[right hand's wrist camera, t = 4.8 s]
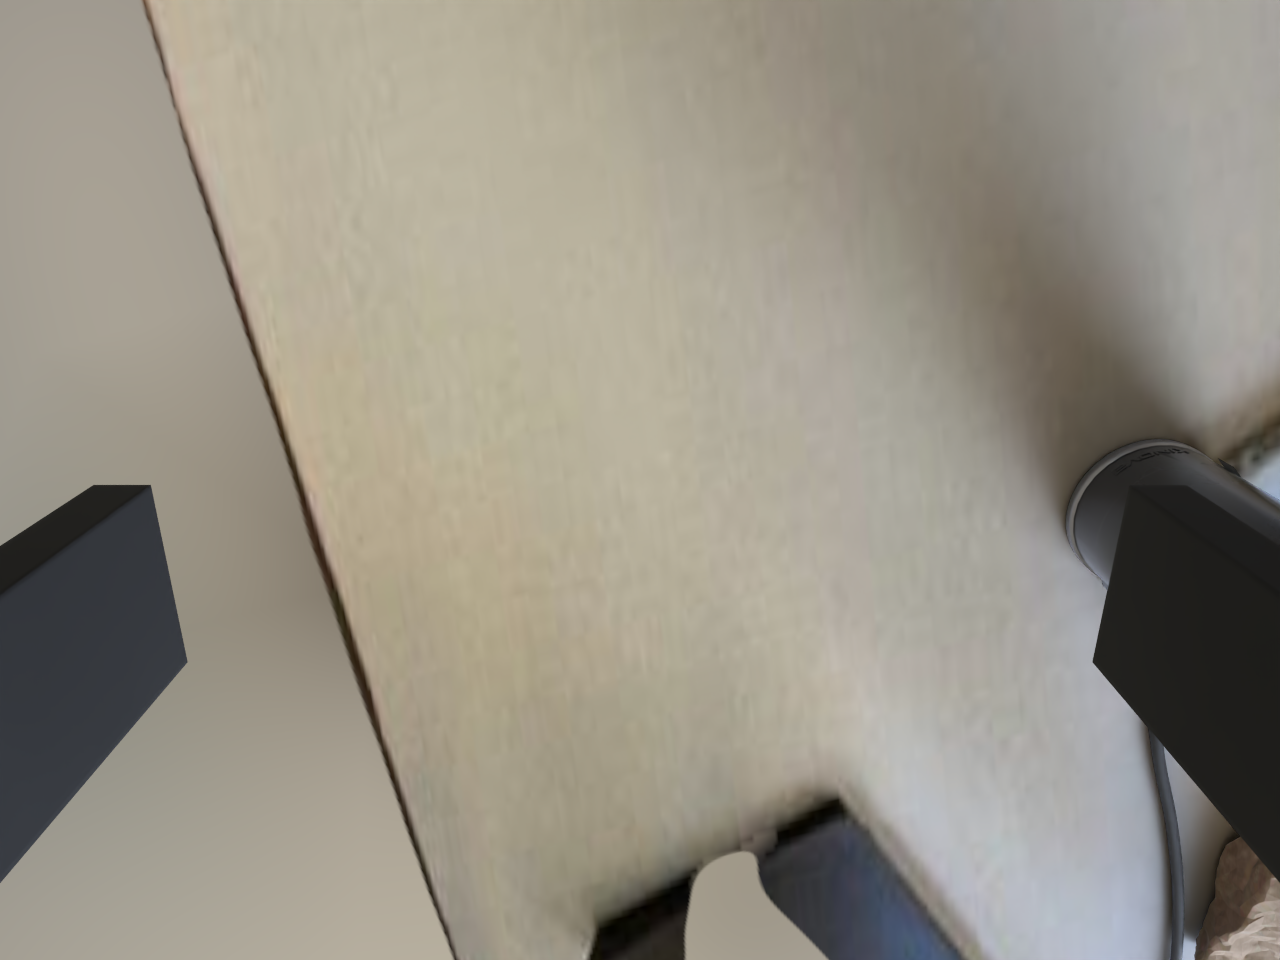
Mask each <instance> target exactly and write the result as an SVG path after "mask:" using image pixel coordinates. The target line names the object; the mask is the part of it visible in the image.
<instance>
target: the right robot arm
mask: <svg viewBox="0 0 1280 960" xmlns="http://www.w3.org/2000/svg"><path fill="white" fill-rule="evenodd" d="M186 663H187V657H186V653H185V648H184V643H183V638H182V633H181V629H180V624H179V619H178V614H177V609H176V605H175V600H174V595H173V590H172V585H171V580H170V576H169V571H168V566H167V561H166V556H165V552H164V547H163V542H162V537H161V533H160V527H159V523H158V518H157V513H156V508H155V504H154V499H153V494H152V489H151V485H93V486H91V487H90V488H88V489H87V490H85V491H84V492H82V493H81V494H79V495H78V496H76V497H75V498H73V499H72V500H70V501H68V502H67V503H65V504H64V505H62V506H61V507H59V508H58V509H56V510H55V511H53V512H52V513H50V514H49V515H47V516H46V517H44V518H42V519H41V520H39V521H38V522H36V523H35V524H33V525H32V526H30V527H29V528H27V529H26V530H24V531H23V532H21V533H19V534H18V535H16V536H15V537H13V538H12V539H10V540H9V541H7V542H6V543H4V544H3V545H1V546H0V883H1V881H2V880H3V879H4V878H5V877H6V875H7V874H8V873H9V872H10V871H11V869H12V868H13V867H14V866H15V865H16V864H17V863H18V861H19V860H20V859H21V858H22V857H23V855H24V854H25V853H26V852H27V851H28V850H29V848H30V847H31V846H32V845H33V844H34V842H35V841H36V840H37V839H38V838H39V837H40V835H41V834H42V833H43V832H44V831H45V829H46V828H47V827H48V826H49V825H50V824H51V822H52V821H53V820H54V819H55V818H56V816H57V815H58V814H59V813H60V812H61V811H62V809H63V808H64V807H65V806H66V805H67V804H68V802H69V801H70V800H71V799H72V798H73V796H74V795H75V794H76V793H77V792H78V791H79V789H80V788H81V787H82V786H83V785H84V784H85V782H86V781H87V780H88V779H89V778H90V776H91V775H92V774H93V773H94V772H95V770H96V769H97V768H98V767H99V766H100V765H101V763H102V762H103V761H104V760H105V759H106V757H107V756H108V755H109V754H110V753H111V752H112V750H113V749H114V748H115V747H116V746H117V745H118V743H119V742H120V741H121V740H122V739H123V738H124V736H125V735H126V734H127V733H128V732H129V730H130V729H131V728H132V727H133V726H134V725H135V723H136V722H137V721H138V720H139V719H140V717H141V716H142V715H143V714H144V713H145V712H146V710H147V709H148V708H149V707H150V706H151V704H152V703H153V702H154V701H155V700H156V699H157V697H158V696H159V695H160V694H161V693H162V691H163V690H164V689H165V688H166V687H167V686H168V684H169V683H170V682H171V681H172V680H173V678H174V677H175V676H176V675H177V674H178V673H179V671H180V670H181V669H182V668H183V667H184V666H185V664H186ZM1093 663H1094V664H1095V666H1096V667H1097V668H1098V669H1099V670H1100V671H1101V673H1102V674H1103V675H1104V676H1105V677H1106V679H1107V680H1108V681H1109V682H1110V683H1111V684H1112V686H1113V687H1114V688H1115V689H1116V690H1117V692H1118V693H1119V694H1120V695H1121V696H1122V697H1123V699H1124V700H1125V701H1126V702H1127V703H1128V704H1129V706H1130V707H1131V708H1132V709H1133V710H1134V712H1135V713H1136V714H1137V715H1138V716H1139V717H1140V719H1141V720H1142V721H1143V722H1144V723H1145V725H1146V726H1147V727H1148V728H1149V729H1150V730H1151V732H1152V733H1153V734H1154V735H1155V736H1156V738H1157V739H1158V740H1159V741H1160V742H1161V743H1162V745H1163V746H1164V747H1165V748H1166V749H1167V750H1168V752H1169V753H1170V754H1171V755H1172V756H1173V758H1174V759H1175V760H1176V761H1177V762H1178V763H1179V765H1180V766H1181V767H1182V768H1183V769H1184V771H1185V772H1186V773H1187V774H1188V775H1189V776H1190V778H1191V779H1192V780H1193V781H1194V782H1195V784H1196V785H1197V786H1198V787H1199V788H1200V789H1201V791H1202V792H1203V793H1204V794H1205V795H1206V796H1207V798H1208V799H1209V800H1210V801H1211V802H1212V804H1213V805H1214V806H1215V807H1216V808H1217V809H1218V811H1219V812H1220V813H1221V814H1222V815H1223V817H1224V818H1225V819H1226V820H1227V821H1228V822H1229V824H1230V825H1231V826H1232V827H1233V828H1234V829H1235V831H1236V832H1237V833H1238V834H1239V835H1240V837H1241V838H1242V839H1243V840H1244V841H1245V842H1246V844H1247V845H1248V846H1249V847H1250V848H1251V850H1252V851H1253V852H1254V853H1255V854H1256V855H1257V857H1258V858H1259V859H1260V860H1261V861H1262V863H1263V864H1264V865H1265V866H1266V867H1267V868H1268V870H1269V871H1270V872H1271V873H1272V874H1273V875H1274V877H1275V878H1276V879H1277V880H1278V881H1279V883H1280V546H1279V545H1277V544H1276V543H1274V542H1273V541H1271V540H1270V539H1268V538H1267V537H1265V536H1264V535H1262V534H1261V533H1259V532H1257V531H1256V530H1254V529H1253V528H1251V527H1250V526H1248V525H1247V524H1245V523H1244V522H1242V521H1241V520H1239V519H1238V518H1236V517H1235V516H1233V515H1231V514H1230V513H1228V512H1227V511H1225V510H1224V509H1222V508H1221V507H1219V506H1218V505H1216V504H1215V503H1213V502H1212V501H1210V500H1208V499H1207V498H1205V497H1204V496H1202V495H1201V494H1199V493H1198V492H1196V491H1195V490H1193V489H1192V488H1190V487H1189V486H1187V485H1129V489H1128V494H1127V499H1126V503H1125V508H1124V513H1123V518H1122V523H1121V527H1120V532H1119V537H1118V542H1117V547H1116V552H1115V556H1114V561H1113V566H1112V571H1111V576H1110V580H1109V585H1108V590H1107V595H1106V600H1105V604H1104V609H1103V614H1102V619H1101V624H1100V629H1099V633H1098V638H1097V643H1096V648H1095V653H1094V657H1093Z"/></svg>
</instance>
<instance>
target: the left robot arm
mask: <svg viewBox="0 0 1280 960" xmlns="http://www.w3.org/2000/svg"><path fill="white" fill-rule="evenodd" d="M1219 461H1220V462H1221V463H1222V465H1223V466H1224V467H1225V468H1224V467H1222V466H1221V465H1219V464H1217V463H1215V462H1214V461H1212V460H1211V459H1210V458H1209V457H1208V456H1206V455H1205V454H1203V453H1202V452H1200V451H1198V450H1196V449H1195V448H1193V447H1191V446H1189V445H1187V444H1184V443H1181V442H1177V441H1173V440H1165V439H1154V440H1145V441H1139V442H1136V443H1132V444H1129V445H1126V446H1124V447H1121V448H1119V449H1117V450H1115V451H1113V452H1112V453H1110V454H1108V455H1107V456H1105V457H1104V458H1102V459H1101V460H1100V461H1098V462H1097V463H1096V464H1095V465H1094V466H1093V467H1092V468H1091V469H1090V470H1089V471H1088V472H1087V473H1086V474H1085V475H1084V477H1083V478H1082V479H1081V481H1080V482H1079V484H1078V485H1077V487H1076V489H1075V490H1074V492H1073V494H1072V497H1071V499H1070V502H1069V505H1068V509H1067V515H1066V531H1067V537H1068V540H1069V543H1070V546H1071V548H1072V550H1073V552H1074V553H1075V555H1076V556H1077V557H1078V559H1079V560H1080V561H1081V562H1082V563H1083V564H1084V565H1085V566H1086V567H1087V568H1088V569H1089V570H1091V571H1092V572H1093V573H1094V574H1096V575H1097V576H1099V577H1100V578H1101V579H1102V584H1103V586H1104V587H1105V588H1106V589H1107V590H1108V585H1109V580H1110V576H1111V571H1112V566H1113V561H1114V556H1115V552H1116V547H1117V542H1118V537H1119V532H1120V527H1121V523H1122V518H1123V513H1124V508H1125V503H1126V499H1127V494H1128V489H1129V485H1187V486H1189V487H1190V488H1192V489H1193V490H1195V491H1196V492H1198V493H1199V494H1201V495H1202V496H1204V497H1205V498H1207V499H1208V500H1210V501H1212V502H1213V503H1215V504H1216V505H1218V506H1219V507H1221V508H1222V509H1224V510H1225V511H1227V512H1228V513H1230V514H1231V515H1233V516H1235V517H1236V518H1238V519H1239V520H1241V521H1242V522H1244V523H1245V524H1247V525H1248V526H1250V527H1251V528H1253V529H1254V530H1256V531H1257V532H1259V533H1261V534H1262V535H1264V536H1265V537H1267V538H1268V539H1270V540H1271V541H1273V542H1274V543H1276V544H1277V545H1279V546H1280V500H1279V499H1277V498H1275V497H1273V496H1272V495H1270V494H1268V493H1267V492H1265V491H1263V490H1261V489H1260V488H1258V487H1256V486H1255V485H1253V484H1251V483H1249V482H1248V481H1246V480H1244V479H1243V478H1241V477H1240V475H1239V474H1238V472H1237V471H1236V470H1235V468H1234V467H1233V466H1231V465H1229V464H1227V463H1225V462H1224V461H1222V460H1220V459H1219ZM1148 731H1149V737H1150V743H1151V750H1152V758H1153V764H1154V770H1155V775H1156V780H1157V785H1158V789H1159V794H1160V798H1161V803H1162V808H1163V813H1164V818H1165V824H1166V831H1167V838H1168V846H1169V855H1170V864H1171V876H1172V898H1173V928H1172V946H1171V958H1170V960H1182V952H1183V937H1184V882H1183V867H1182V856H1181V847H1180V839H1179V831H1178V824H1177V817H1176V812H1175V806H1174V802H1173V797H1172V792H1171V788H1170V783H1169V778H1168V773H1167V768H1166V762H1165V755H1164V747H1163V745H1162V743H1161V742H1160V741H1159V740H1158V739H1157V738H1156V736H1155V735H1154V734H1153V733H1152V732H1151V730H1150V729H1149V728H1148Z"/></svg>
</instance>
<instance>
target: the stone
mask: <svg viewBox="0 0 1280 960" xmlns="http://www.w3.org/2000/svg"><path fill="white" fill-rule="evenodd" d="M1196 945H1197V946H1196V952H1195V960H1280V883H1279V881H1278V880H1277V879H1276V878H1275V877H1274V875H1273V874H1272V873H1271V872H1270V871H1269V870H1268V868H1267V867H1266V866H1265V865H1264V864H1263V863H1262V861H1261V860H1260V859H1259V858H1258V857H1257V855H1256V854H1255V853H1254V852H1253V851H1252V850H1251V848H1250V847H1249V846H1248V845H1247V844H1246V842H1245V841H1244V840H1243V839H1242V838H1241V837H1239V838H1237V839H1236V840H1234V841H1232V842H1230V843H1228V844H1226V846H1225V848H1224V850H1223V852H1222V855H1221V857H1220V861H1219V865H1218V867H1217V870H1216V880H1215V898H1214V900H1213V901H1212V902H1211V904H1210V905H1209V908H1208V912H1207V914H1206V916H1205V919H1204V922H1203V927H1202V928H1201V930H1200V931H1199V934H1198V937H1197V939H1196Z"/></svg>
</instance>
